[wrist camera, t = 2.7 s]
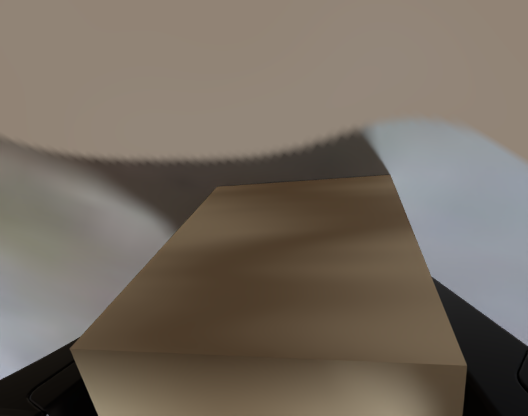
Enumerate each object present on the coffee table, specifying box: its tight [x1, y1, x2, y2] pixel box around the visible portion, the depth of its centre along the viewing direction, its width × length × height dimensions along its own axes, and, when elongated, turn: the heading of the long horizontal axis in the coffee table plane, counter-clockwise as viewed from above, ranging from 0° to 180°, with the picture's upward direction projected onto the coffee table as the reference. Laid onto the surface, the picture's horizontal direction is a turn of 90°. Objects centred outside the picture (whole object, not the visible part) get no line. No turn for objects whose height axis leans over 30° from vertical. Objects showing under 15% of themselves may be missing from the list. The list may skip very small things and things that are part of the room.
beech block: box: [70, 175, 467, 416], centre depth 8 cm, size 4×4×6 cm
